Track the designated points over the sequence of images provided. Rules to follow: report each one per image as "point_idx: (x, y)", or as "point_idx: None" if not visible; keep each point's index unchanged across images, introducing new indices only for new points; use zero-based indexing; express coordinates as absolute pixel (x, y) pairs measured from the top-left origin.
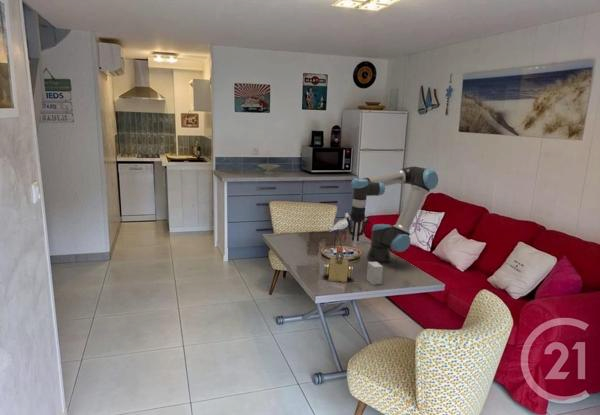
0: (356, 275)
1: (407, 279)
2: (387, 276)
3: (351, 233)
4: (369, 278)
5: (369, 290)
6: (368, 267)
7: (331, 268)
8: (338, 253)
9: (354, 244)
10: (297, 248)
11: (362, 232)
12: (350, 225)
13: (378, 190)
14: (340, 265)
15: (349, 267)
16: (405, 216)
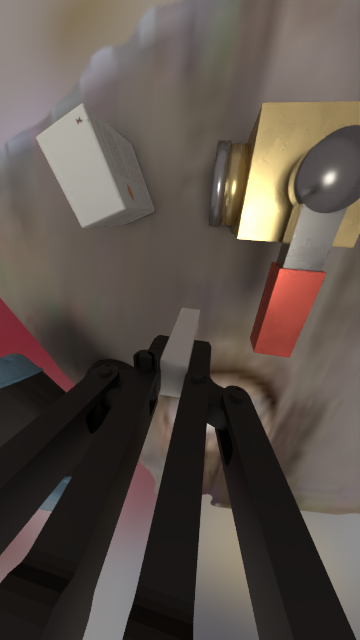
0: (189, 248)
1: (25, 243)
2: (85, 259)
3: (223, 392)
4: (139, 179)
5: (146, 45)
6: (130, 195)
7: None
8: (329, 225)
9: (191, 317)
10: (342, 444)
11: (81, 388)
12: (272, 567)
13: None
14: (321, 106)
15: (238, 161)
16: None
